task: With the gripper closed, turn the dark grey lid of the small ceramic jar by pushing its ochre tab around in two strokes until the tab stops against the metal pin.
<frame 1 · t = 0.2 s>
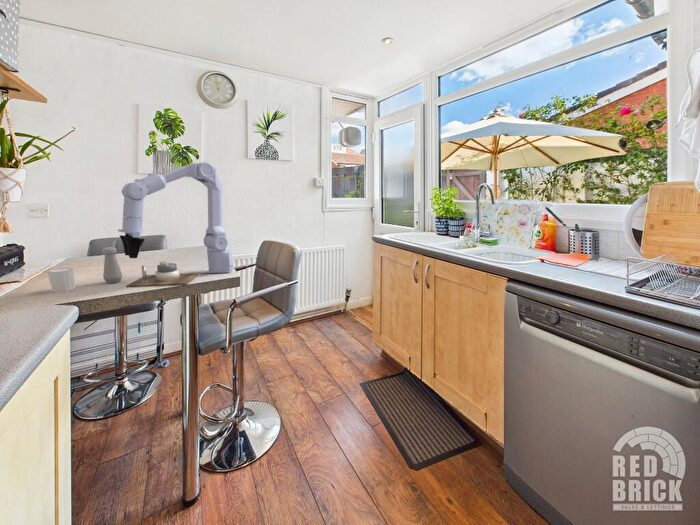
hand: (130, 256, 117), 10 cm above the countertop, tool pointing down, fingers open, 7 cm apart
stop pin: (145, 283, 122), resting on board
grey tapered cup: (64, 290, 113), on the countertop
lid: (165, 266, 127), point 5 cm above the countertop, hinge at 0.0°
jar: (168, 280, 126), resting on board
salt shaker: (113, 282, 124), on the countertop
board: (165, 280, 126), on the countertop
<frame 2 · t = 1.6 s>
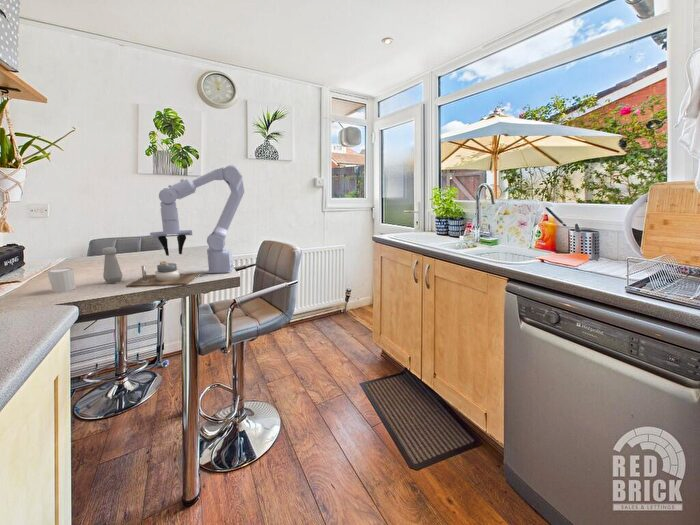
hand: (174, 254, 132), 8 cm above the countertop, tool pointing down, fingers open, 4 cm apart
nothing on the countertop moved.
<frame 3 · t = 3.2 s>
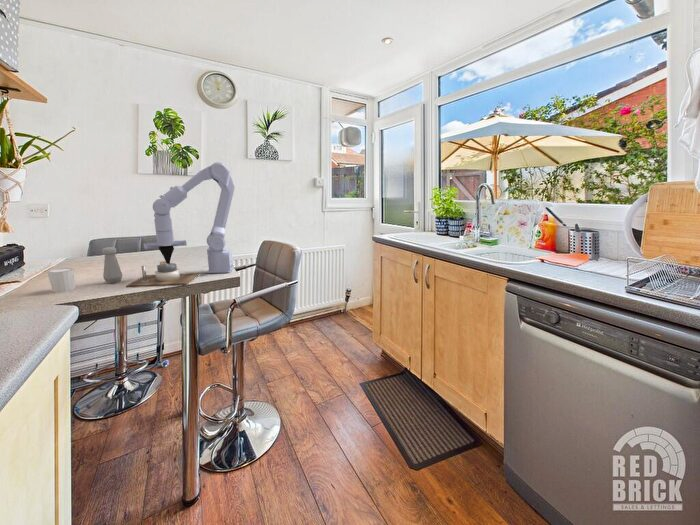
hand: (168, 265, 132), 4 cm above the countertop, tool pointing down, fingers closed, pressing on lid
lid: (165, 266, 127), point 5 cm above the countertop, hinge at 0.1°, touching gripper
everything else where it was.
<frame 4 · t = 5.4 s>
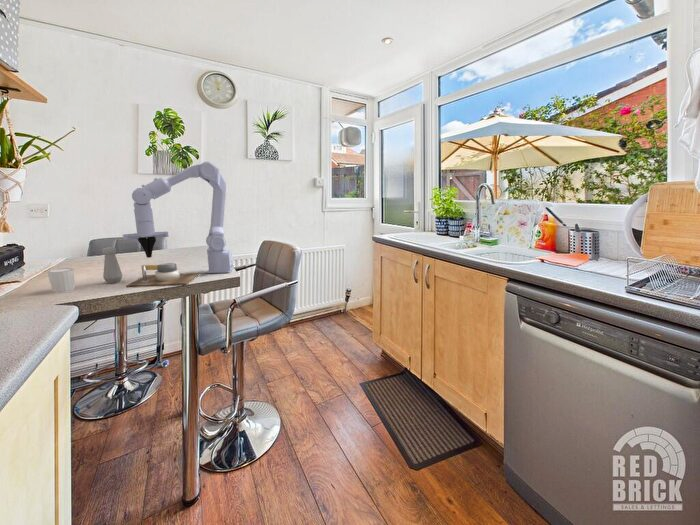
hand: (149, 257, 127), 8 cm above the countertop, tool pointing down, fingers closed
lid: (159, 267, 125), point 5 cm above the countertop, hinge at 51.8°
everything else where it was.
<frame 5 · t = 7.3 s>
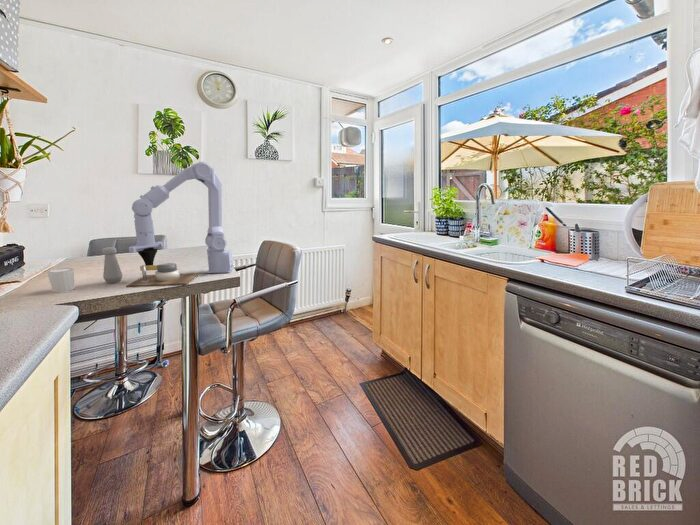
hand: (149, 268, 126), 4 cm above the countertop, tool pointing down, fingers closed, pressing on lid
lid: (158, 267, 125), point 5 cm above the countertop, hinge at 58.8°, touching gripper
everything else where it was.
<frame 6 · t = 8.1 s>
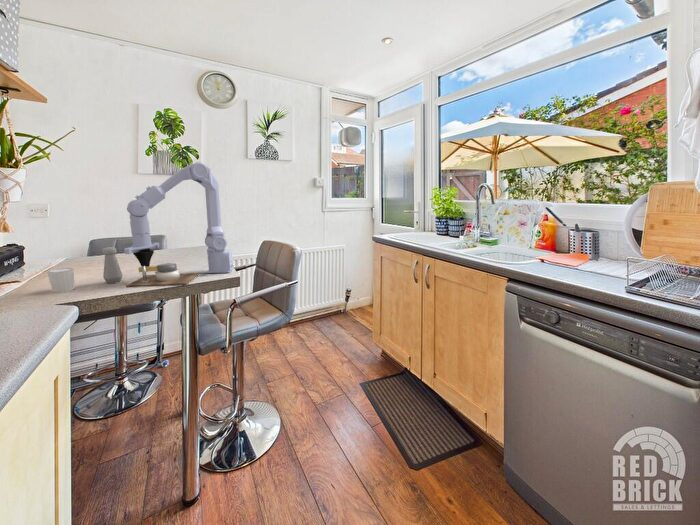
hand: (145, 269, 124), 4 cm above the countertop, tool pointing down, fingers closed
lid: (158, 268, 124), point 5 cm above the countertop, hinge at 78.5°, touching gripper
everything else where it was.
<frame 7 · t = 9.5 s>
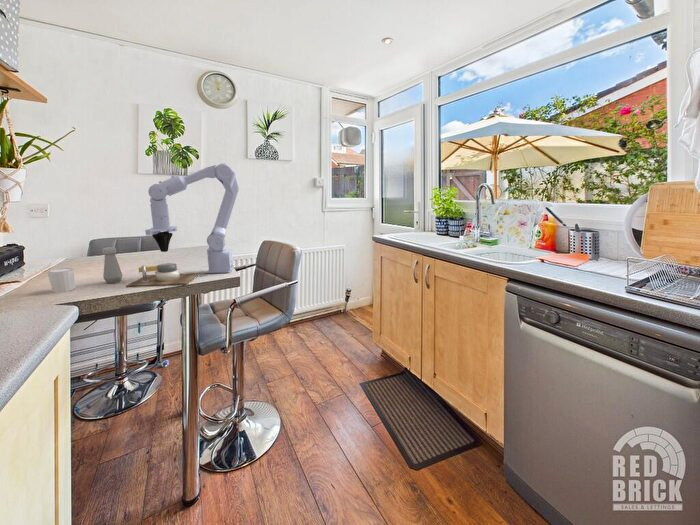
hand: (164, 251, 131), 10 cm above the countertop, tool pointing down, fingers closed
lid: (158, 268, 124), point 5 cm above the countertop, hinge at 78.4°
everything else where it was.
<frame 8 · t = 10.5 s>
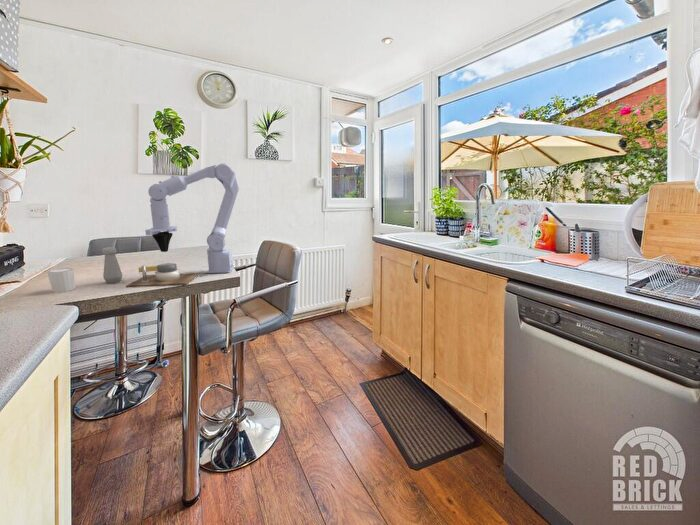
hand: (164, 251, 131), 10 cm above the countertop, tool pointing down, fingers closed
nothing on the countertop moved.
at the end: lid at +78° (first picture: +0°) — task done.
